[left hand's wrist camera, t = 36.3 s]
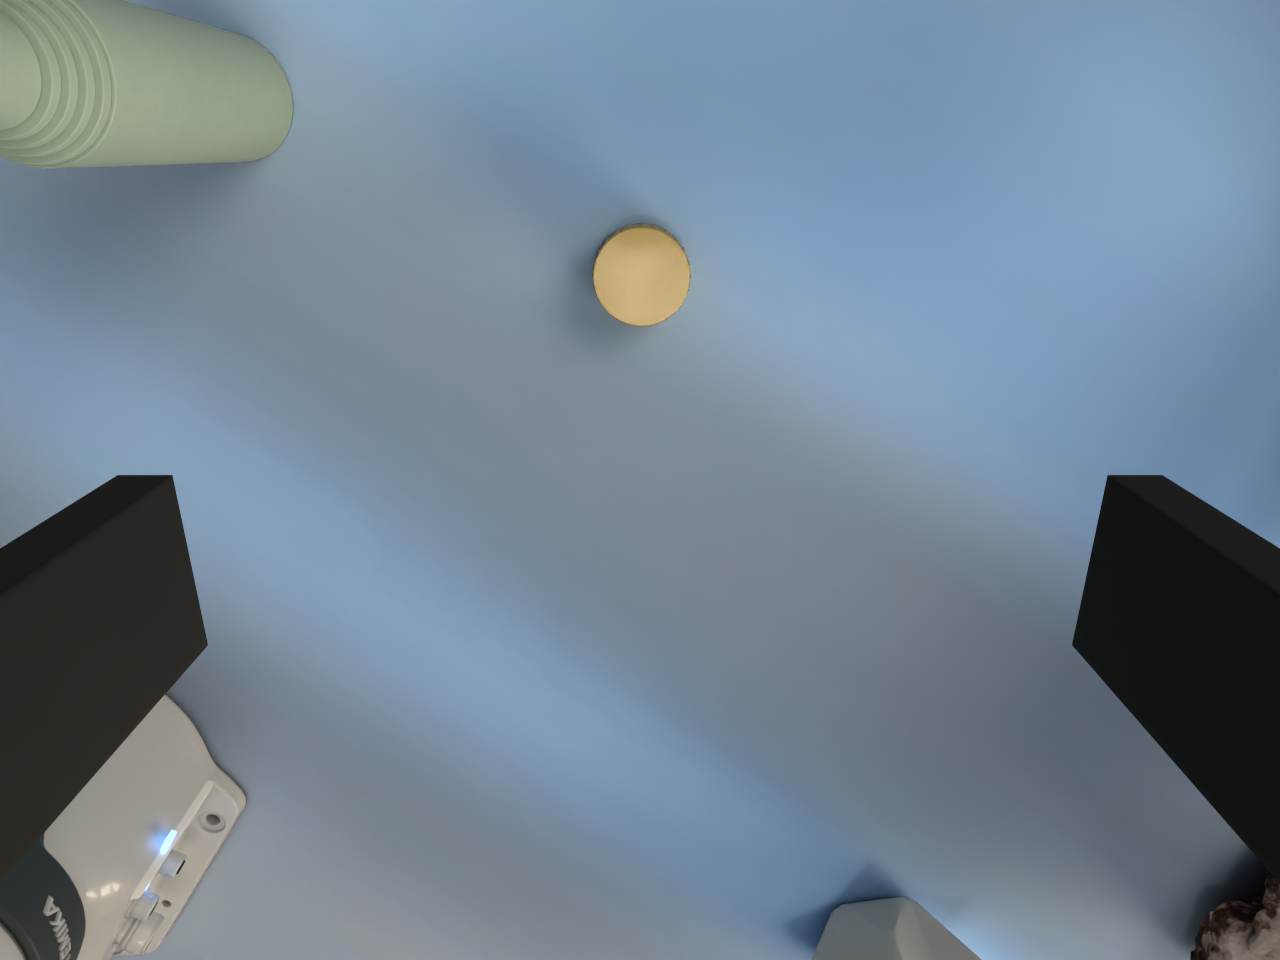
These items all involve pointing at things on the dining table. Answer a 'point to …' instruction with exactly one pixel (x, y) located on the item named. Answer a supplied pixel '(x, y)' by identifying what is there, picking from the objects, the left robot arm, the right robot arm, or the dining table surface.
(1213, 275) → the dining table surface
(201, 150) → the bottle
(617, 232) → the cap
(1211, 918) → the rock
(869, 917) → the vase
